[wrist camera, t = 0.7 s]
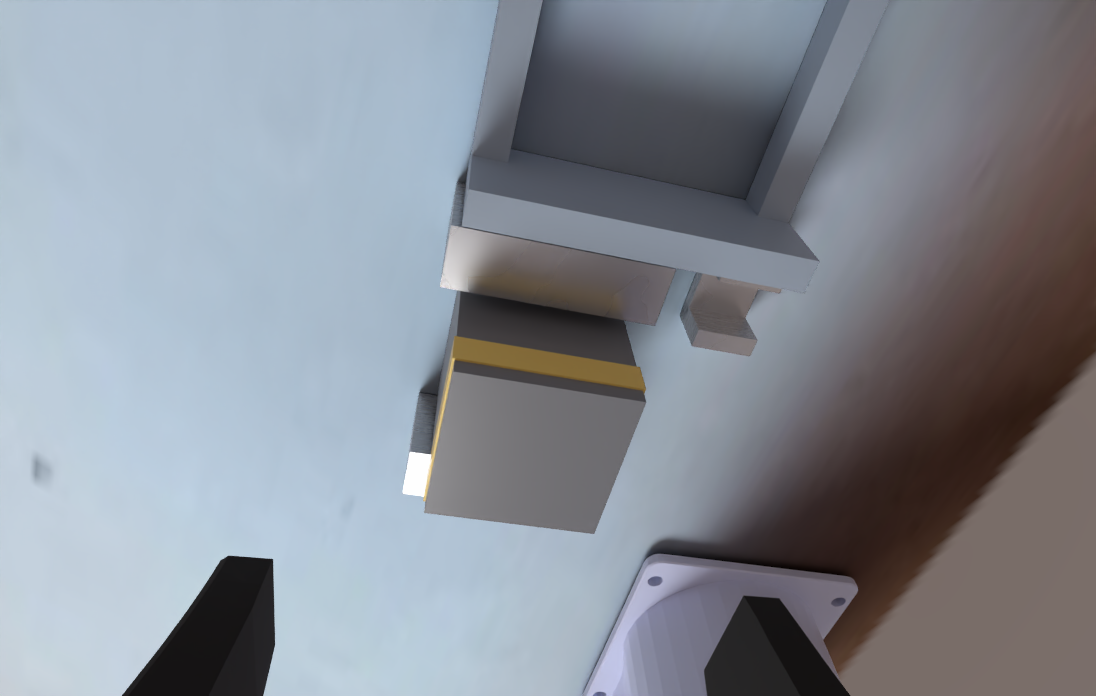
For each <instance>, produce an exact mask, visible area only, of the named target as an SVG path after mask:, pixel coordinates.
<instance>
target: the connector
mask: <svg viewBox="0 0 1096 696" xmlns="http://www.w3.org/2000/svg"><path fill="white" fill-rule="evenodd" d="M645 390H646V387H645V384H644V380H643V377H642V373H641V370H640V367H636V363H635V360H634V356H633V352H632V349H631V345H630V341H629V338H628V334H627V330H626V327H625V323H624V320H620V319H614V318H609V317H603V316H598V315H592V314H586V313H581V312H575V311H570V310H564V309H559V308H553V307H548V306H542V305H537V304H531V303H525V302H520V301H514V300H509V299H503V298H498V297H492V296H487V295H481V294H476V293H470V292H464V291H459V290H457V294H456V299H455V304H454V309H453V314H452V319H451V324H450V329H449V335H448V340H447V345H446V350H445V355H444V360H443V365H442V370H441V375H440V381H439V388H438V397H437V406H436V414H435V423H434V432H433V440H432V449H431V455H430V460H429V465H428V470H427V475H426V482H425V490H424V498H423V501H425V510H424V513H430V514H438V515H446V516H454V517H462V518H470V519H478V520H486V521H494V522H502V523H510V524H519V525H527V526H535V527H543V528H551V529H559V530H567V531H575V532H583V533H591V534H594V533H595V530H596V528H597V525H598V523H599V520H600V518H601V515H602V513H603V510H604V508H605V505H606V503H607V500H608V498H609V495H610V492H611V490H612V487H613V485H614V482H615V480H616V477H617V475H618V472H619V470H620V467H621V465H622V462H623V460H624V457H625V455H626V452H627V450H628V447H629V445H630V442H631V439H632V437H633V434H634V432H635V429H636V427H637V424H638V422H639V419H640V417H641V414H642V412H643V409H644V407H645V404H646V400H645V396H644V393H645Z"/></svg>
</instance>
